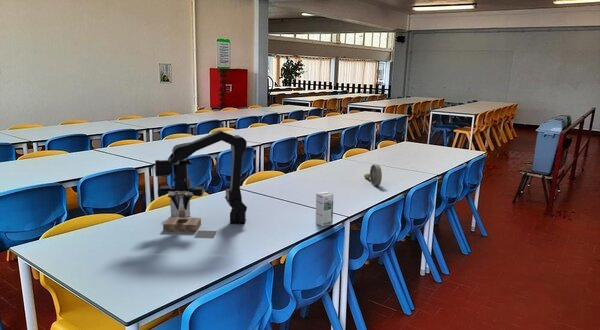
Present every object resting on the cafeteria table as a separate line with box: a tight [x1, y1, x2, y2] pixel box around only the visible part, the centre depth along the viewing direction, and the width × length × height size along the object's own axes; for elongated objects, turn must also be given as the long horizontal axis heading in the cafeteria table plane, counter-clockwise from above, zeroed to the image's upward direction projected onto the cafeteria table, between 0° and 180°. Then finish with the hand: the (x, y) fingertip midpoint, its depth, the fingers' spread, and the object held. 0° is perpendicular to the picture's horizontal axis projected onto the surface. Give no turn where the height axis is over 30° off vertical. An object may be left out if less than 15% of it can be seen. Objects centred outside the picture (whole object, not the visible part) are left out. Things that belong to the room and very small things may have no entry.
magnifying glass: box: [363, 163, 383, 187], centre depth 273 cm, size 13×3×25 cm
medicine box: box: [169, 198, 191, 218], centre depth 205 cm, size 8×4×9 cm, turn 74°
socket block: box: [162, 216, 202, 233], centre depth 190 cm, size 14×9×4 cm, turn 90°
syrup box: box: [315, 191, 334, 227], centre depth 199 cm, size 6×6×14 cm
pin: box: [177, 193, 187, 218], centre depth 188 cm, size 4×4×10 cm
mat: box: [193, 229, 218, 239], centre depth 184 cm, size 8×8×1 cm
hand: (182, 209), depth 189 cm, fingers closed on pin, 3 cm apart
